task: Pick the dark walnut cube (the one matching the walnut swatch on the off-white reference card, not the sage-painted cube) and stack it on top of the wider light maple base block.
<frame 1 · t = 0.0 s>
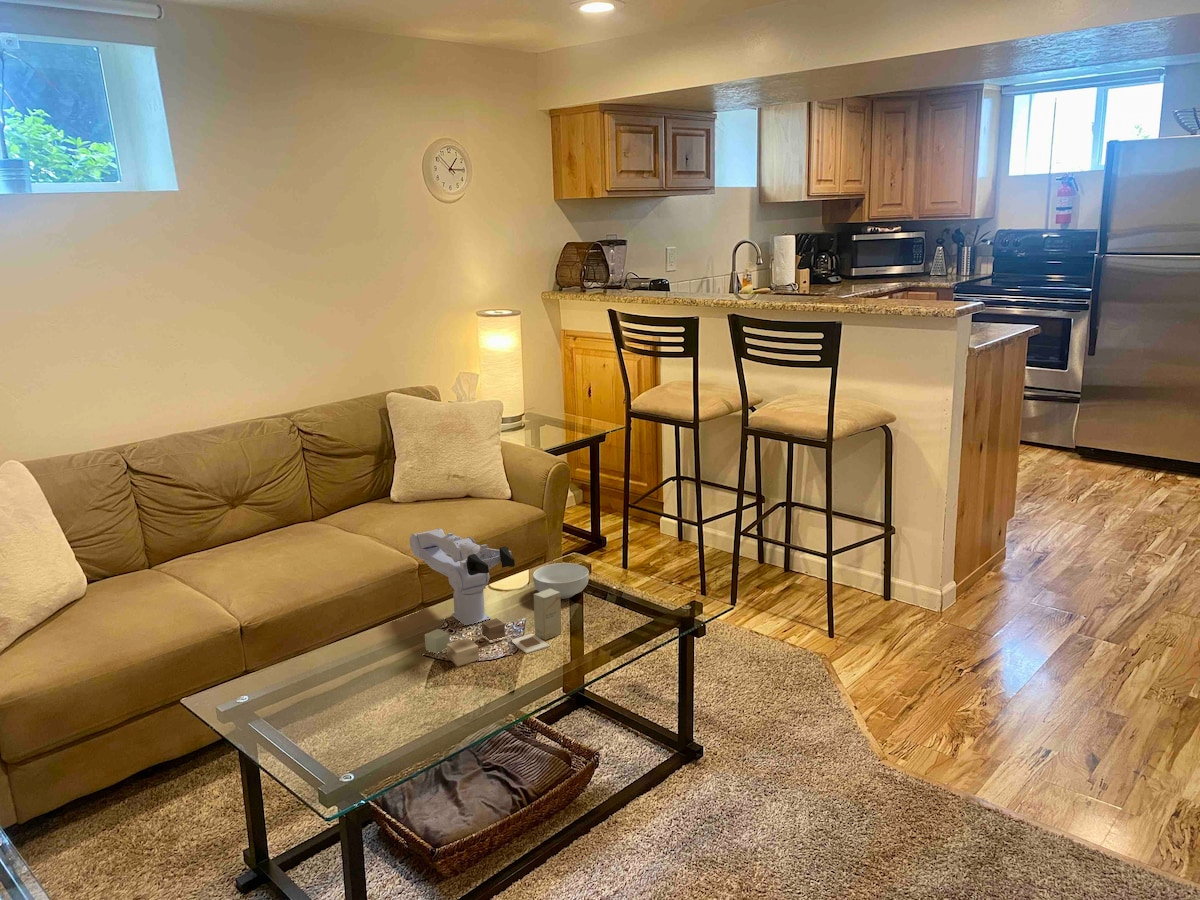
hand: (500, 566, 232), 22 cm above the table, tool horizontal, fingers open, 7 cm apart
maple base: (463, 659, 228), on the table
cereal bowl: (561, 594, 269), on the table
skincare box: (548, 635, 241), on the table
reference card: (529, 644, 236), on the table
sage cube: (437, 649, 234), on the table
walnut cube: (493, 638, 240), on the table
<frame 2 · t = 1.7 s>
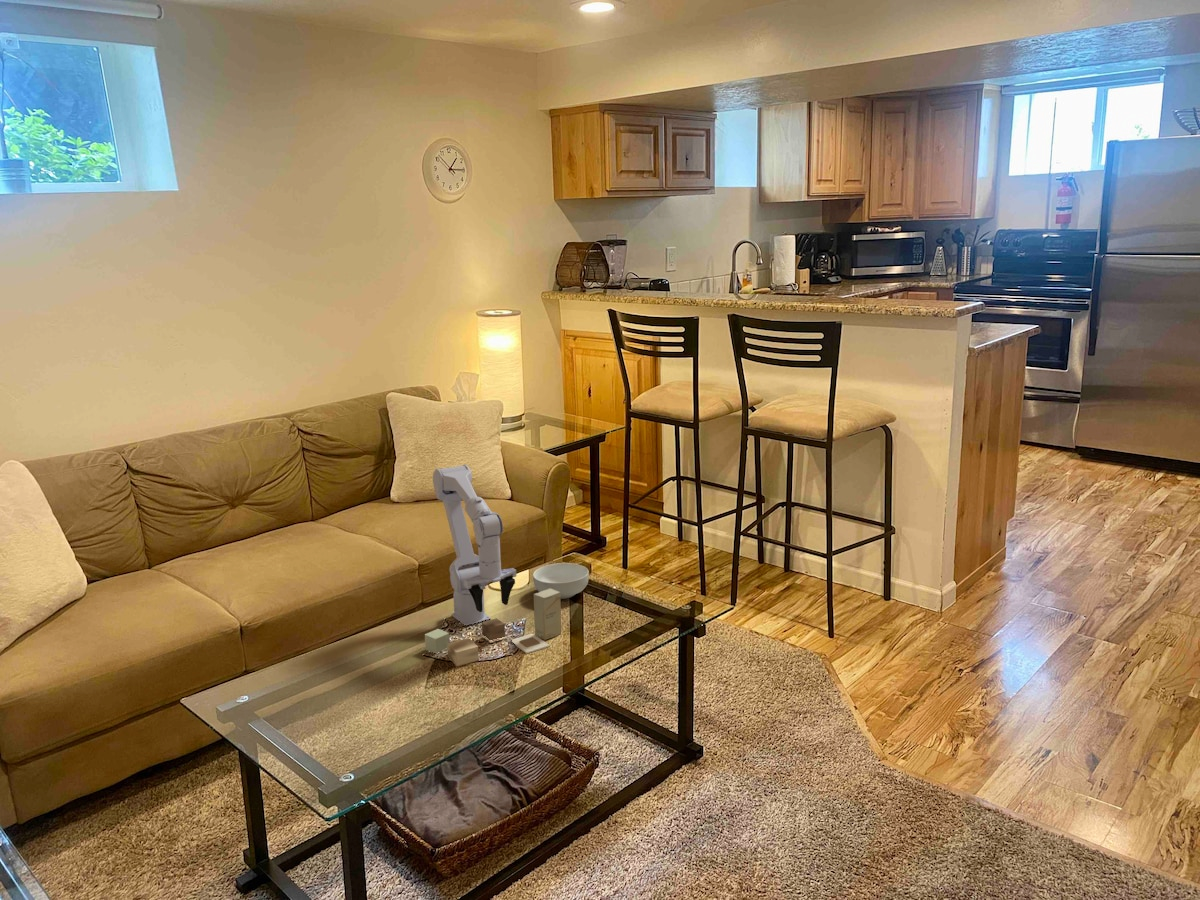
hand: (492, 607, 238), 9 cm above the table, tool pointing down, fingers open, 7 cm apart
nothing on the table moved.
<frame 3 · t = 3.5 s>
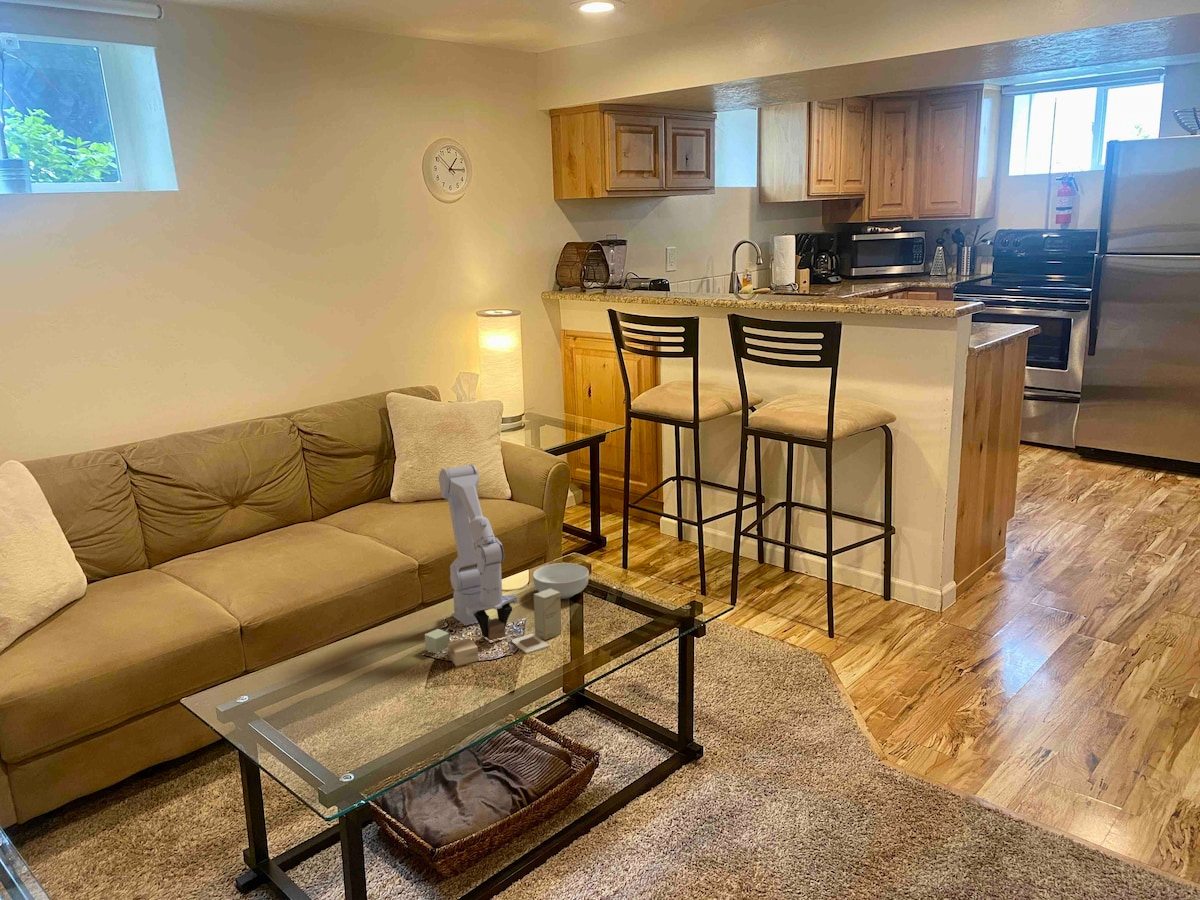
hand: (493, 633, 239), 1 cm above the table, tool pointing down, fingers closed on walnut cube, 4 cm apart
walnut cube: (493, 638, 240), on the table, touching gripper
everything else where it was.
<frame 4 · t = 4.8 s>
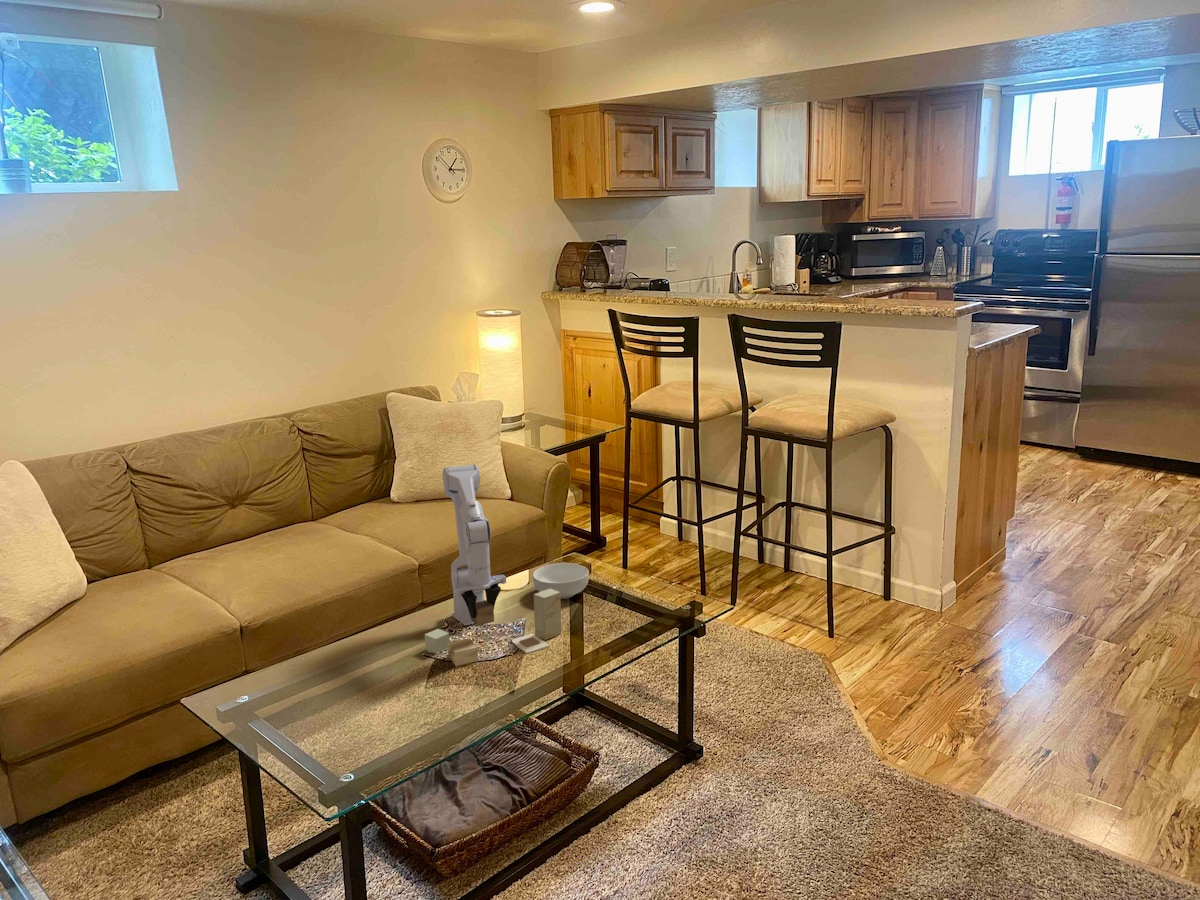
hand: (481, 614, 233), 9 cm above the table, tool pointing down, fingers closed on walnut cube, 4 cm apart
walnut cube: (482, 620, 234), point 7 cm above the table, touching gripper
everything else where it was.
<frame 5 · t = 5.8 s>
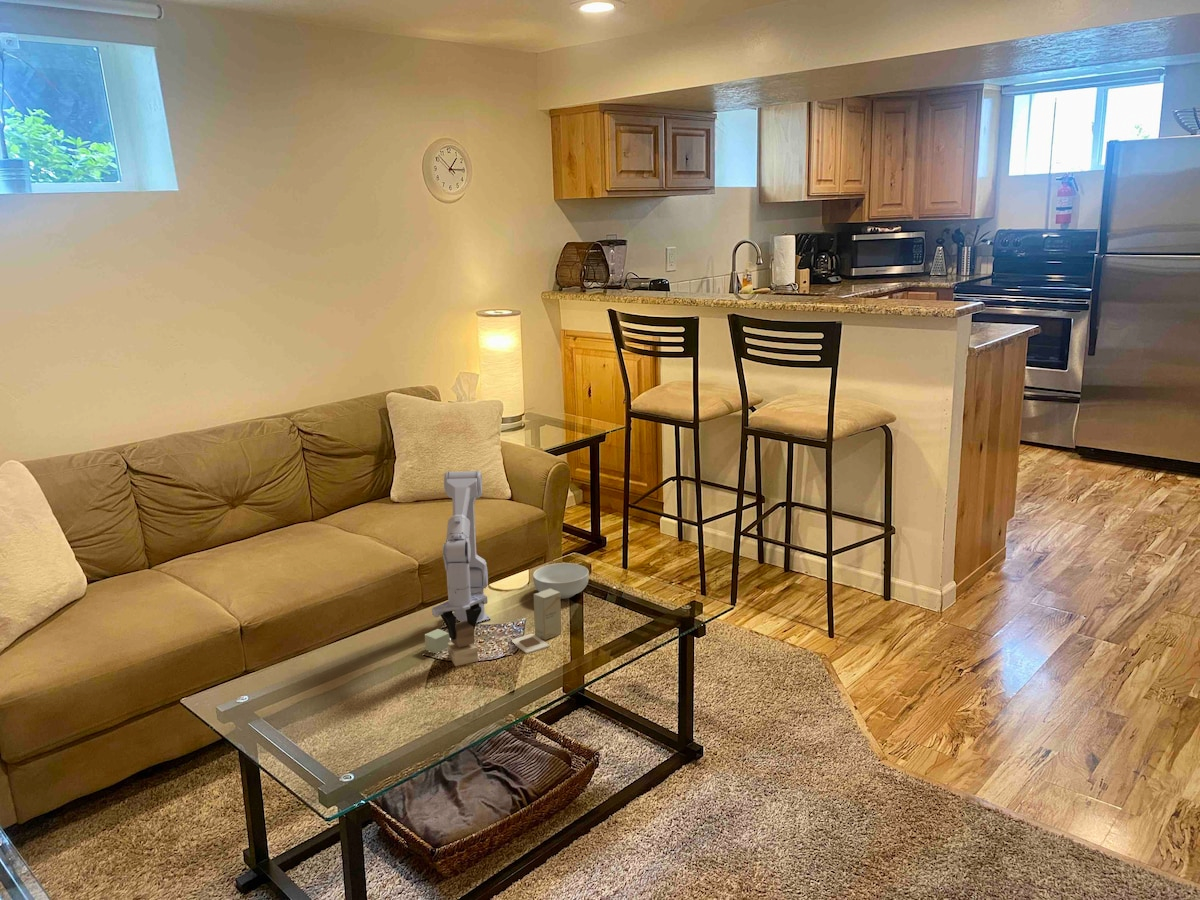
hand: (461, 635, 227), 6 cm above the table, tool pointing down, fingers closed on walnut cube, 4 cm apart
walnut cube: (462, 642, 227), point 5 cm above the table, touching gripper
everything else where it was.
when the fingers open (6 cm above the table, at t = 6.6 s): walnut cube moves 1 cm, point 4 cm above the table.
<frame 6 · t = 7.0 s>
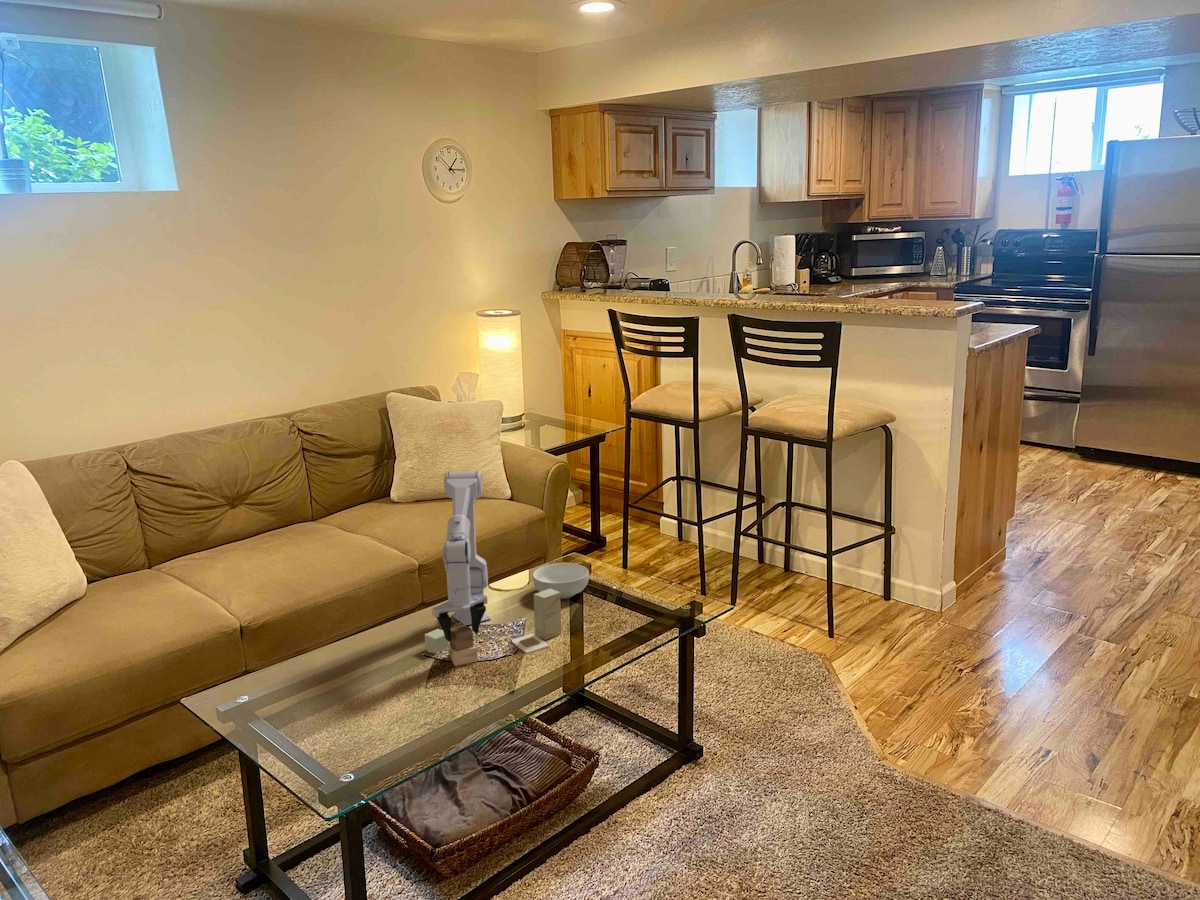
hand: (461, 635, 227), 6 cm above the table, tool pointing down, fingers open, 7 cm apart
walnut cube: (461, 645, 227), point 4 cm above the table
everything else where it was.
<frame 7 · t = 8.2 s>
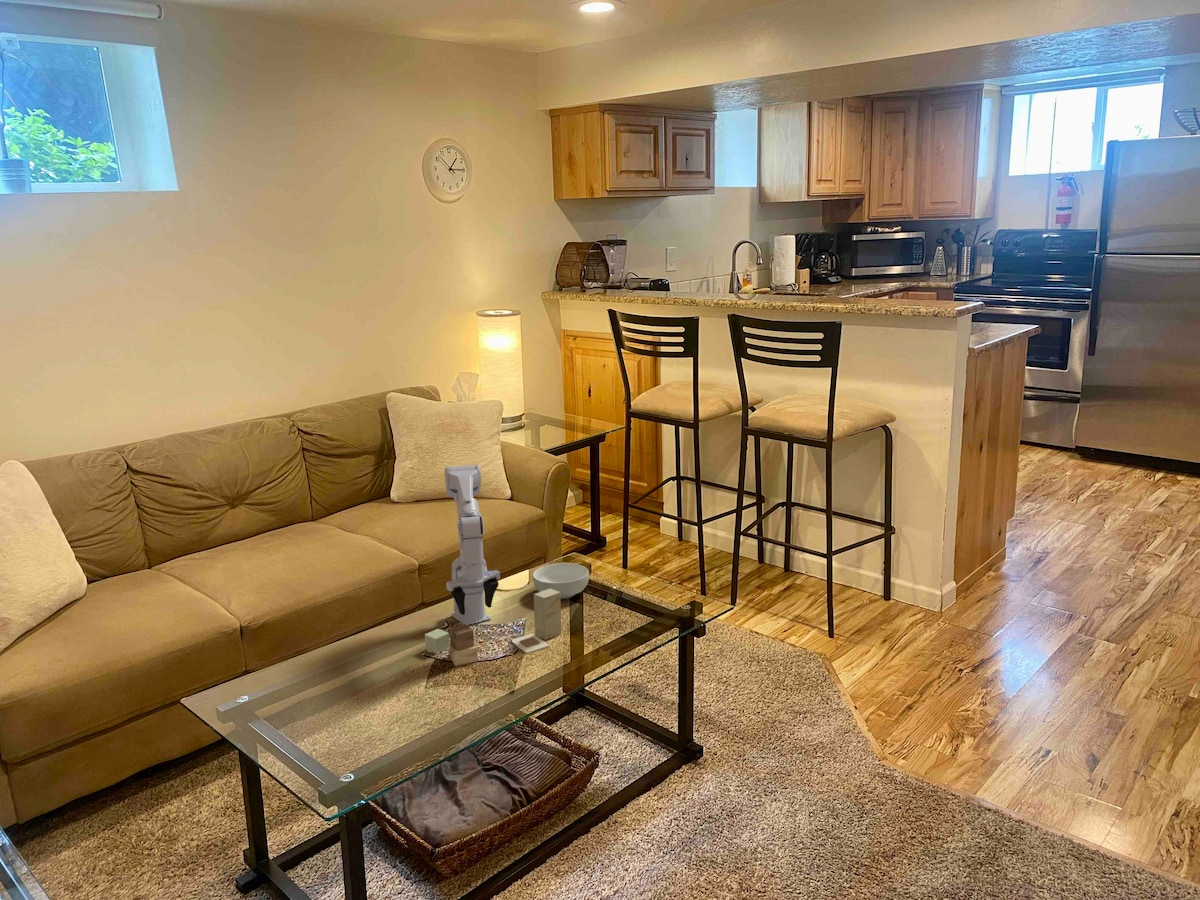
hand: (475, 609, 233), 10 cm above the table, tool pointing down, fingers open, 7 cm apart
maple base: (463, 659, 228), on the table, touching walnut cube
walnut cube: (462, 645, 227), point 4 cm above the table, touching maple base
everything else where it was.
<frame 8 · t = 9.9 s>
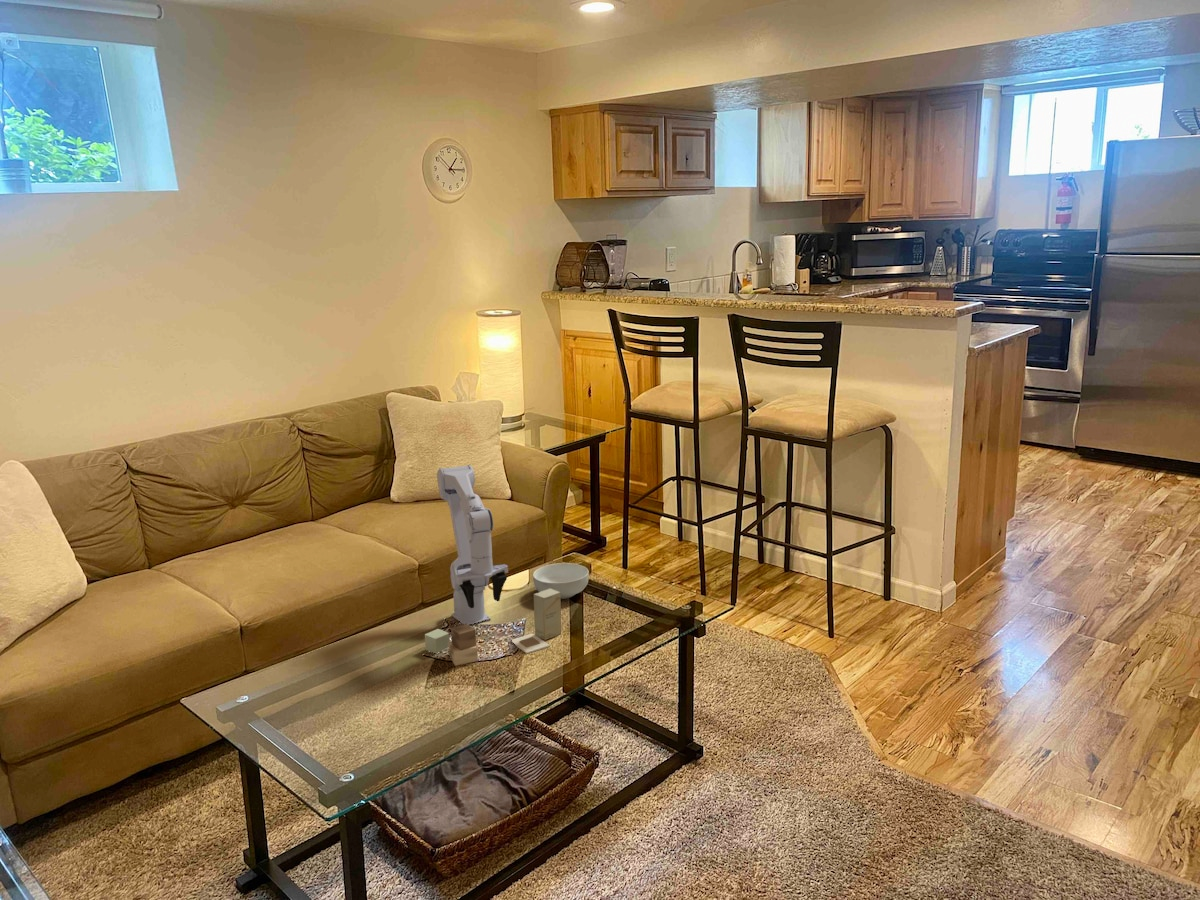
hand: (483, 603, 237), 10 cm above the table, tool pointing down, fingers open, 7 cm apart
nothing on the table moved.
at the end: walnut cube 0.4 cm off-centre on the maple base, point 4.0 cm above the maple base's base; walnut cube tilted 0°; sage cube moved 0.1 cm from its start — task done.
